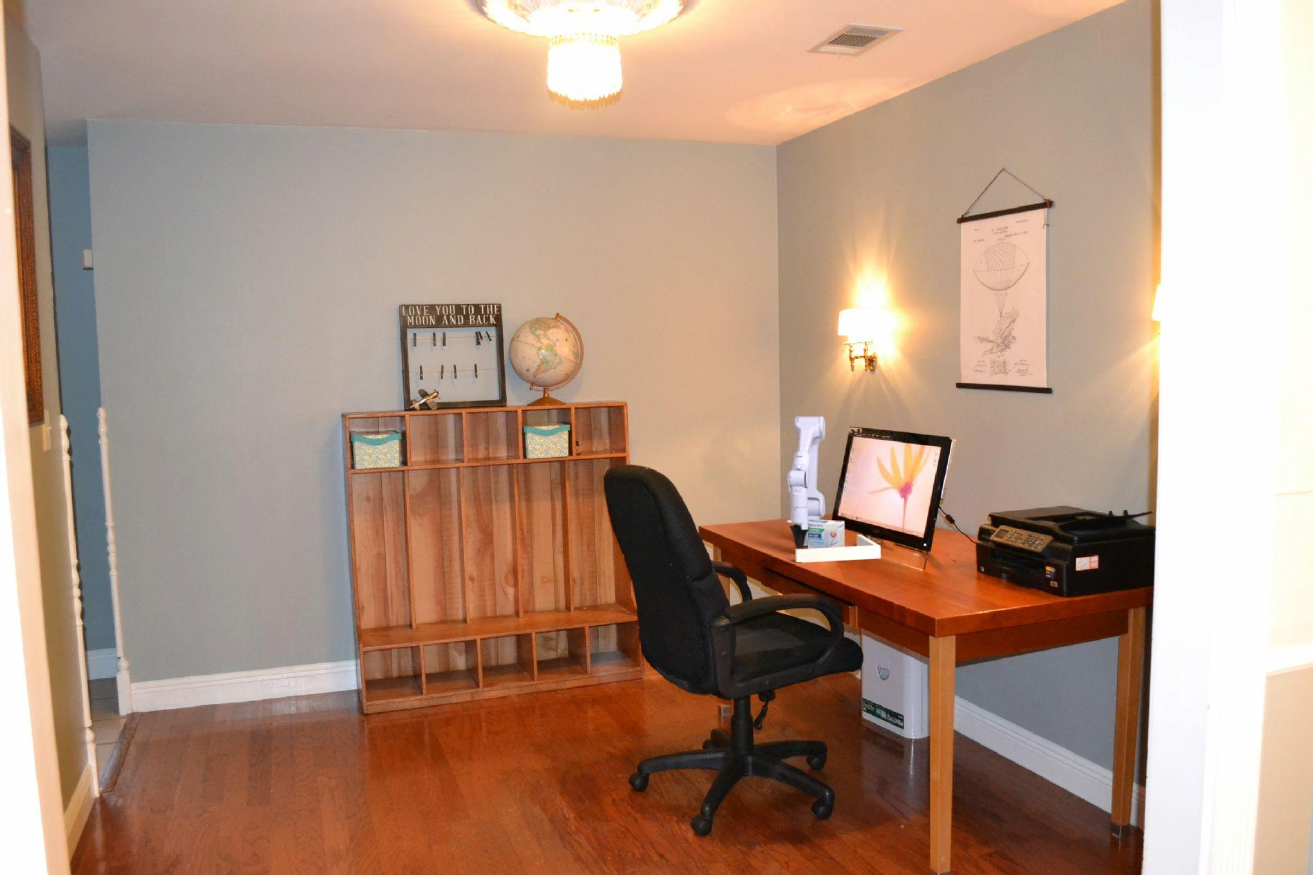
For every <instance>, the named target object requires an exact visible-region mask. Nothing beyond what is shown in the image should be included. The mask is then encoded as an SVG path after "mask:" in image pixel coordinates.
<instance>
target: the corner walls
mask: <svg viewBox="0 0 1313 875" xmlns="http://www.w3.org/2000/svg"><path fill="white" fill-rule="evenodd" d="M794 555H795V556H794V557H795V558H794V560H795V563H796V562H802V563H815V562H816V563H819V562H835V561H837V562H838V561H853V560H872V559H873V560H874V559H881V558H882V556H881V545H880V544H878V543H876V542H874V541H873V540H871V539H869V538H868V537H866V536H864V535H863V534H856V546H855V545H854V546H845V547H832V548H813V549H808V548H802V549H801V548H795V554H794Z"/></svg>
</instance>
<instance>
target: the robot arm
mask: <svg viewBox="0 0 1313 875" xmlns="http://www.w3.org/2000/svg"><path fill="white" fill-rule="evenodd" d="M793 423H794V424H793V429H794V433H795V436H796V438H797V440H798V444H797V445H798V446H797V447H798V448H797V452H795V453H794V454H793V458H792V459H793V460H792V464H791V469H790V471H788V473H787V487H788V493H789V512H790V514H789V517H790V518H789V519H786V523H789V524H793V525H789V528H790V531H791V533H792V536H793V540H794V545H795V549H801V548H802V549H804V547H808V530H809V527H808V522H811V521H813V520H814V519H817V520H822V518H823V517H824V516H825V514H826V502H825V500H826V499H825V496H824V494H822V492H820V491H819V490H818V466H819V465H818V464H819V446H820V443H821V442H824V441H825V438H826V437H825V436H826V435H825V434H826V419H825V418H824V416H823V415H820V416H799V415H796V416H795V418H794V422H793Z"/></svg>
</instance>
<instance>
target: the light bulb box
mask: <svg viewBox="0 0 1313 875" xmlns="http://www.w3.org/2000/svg"><path fill="white" fill-rule="evenodd" d="M808 527H809V530H808V546H807V549H813V548H832V547H846V545H845V543H846V542H845V534H846V533H845V520H831V519H830V520H829V519H828V520H827V519H821V520H817V519H814V520H813V521H811V522H808Z"/></svg>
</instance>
